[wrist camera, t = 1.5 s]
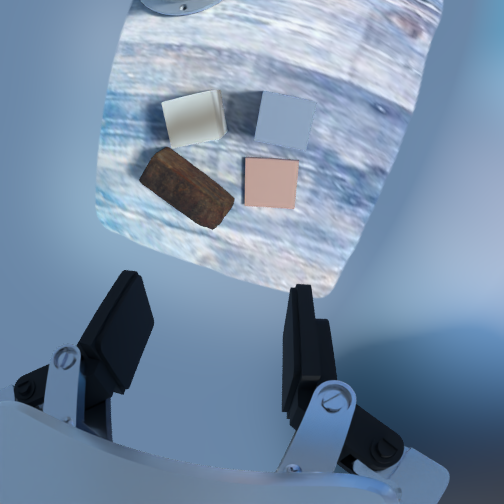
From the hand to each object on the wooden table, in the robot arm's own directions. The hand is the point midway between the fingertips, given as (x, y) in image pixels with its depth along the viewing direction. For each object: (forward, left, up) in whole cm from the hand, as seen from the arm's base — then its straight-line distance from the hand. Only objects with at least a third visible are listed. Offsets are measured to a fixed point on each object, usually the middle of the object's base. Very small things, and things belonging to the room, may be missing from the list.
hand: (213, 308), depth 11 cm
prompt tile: (+3, +2, -24) cm, 24 cm away
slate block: (-5, +3, -24) cm, 24 cm away
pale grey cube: (-5, -6, -24) cm, 25 cm away
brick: (+3, -7, -24) cm, 25 cm away
